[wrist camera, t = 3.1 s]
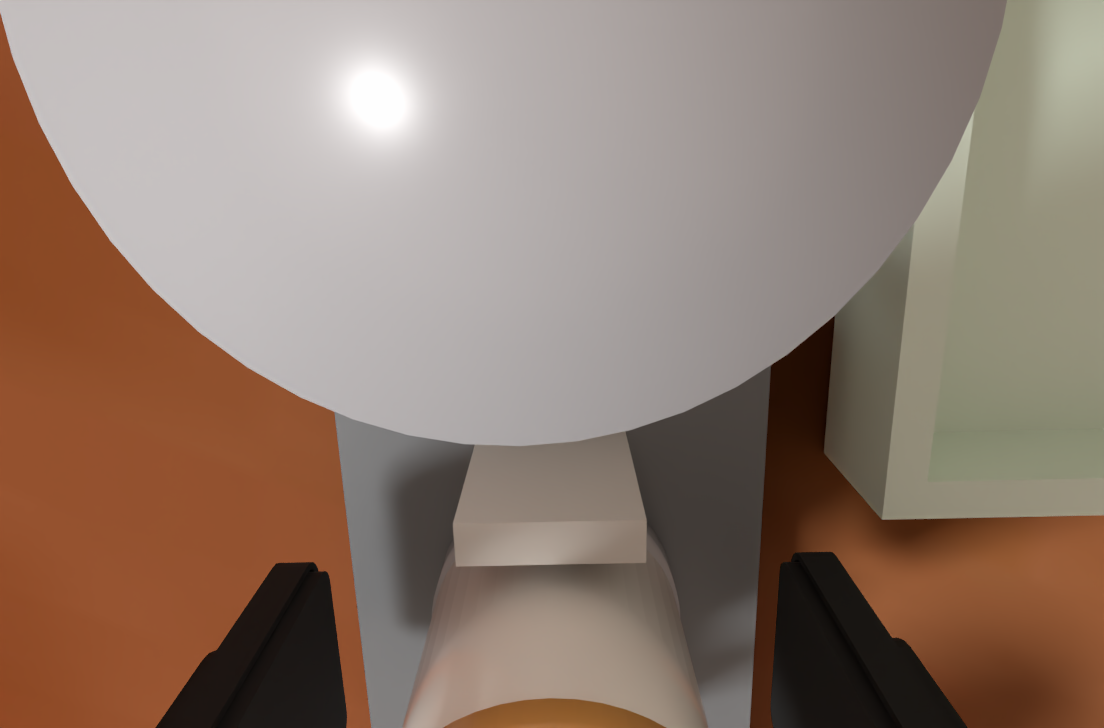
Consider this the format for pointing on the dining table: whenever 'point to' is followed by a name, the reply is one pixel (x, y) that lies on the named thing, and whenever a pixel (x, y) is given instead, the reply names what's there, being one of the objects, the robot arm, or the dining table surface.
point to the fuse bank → (516, 251)
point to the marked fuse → (556, 648)
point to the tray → (991, 303)
